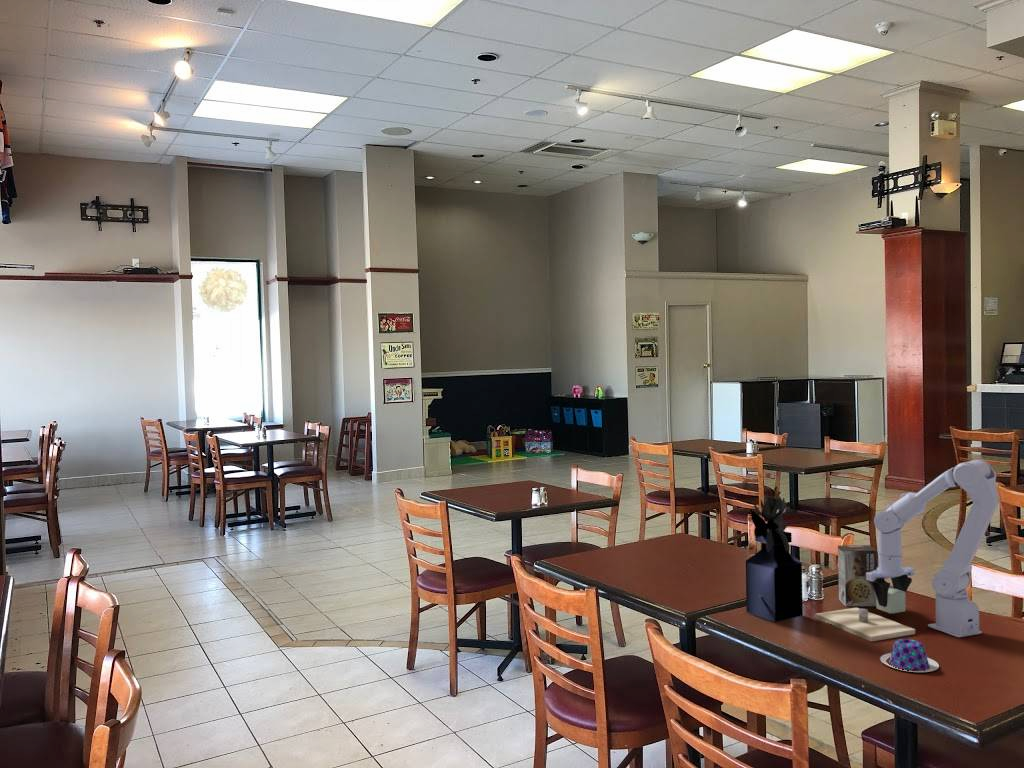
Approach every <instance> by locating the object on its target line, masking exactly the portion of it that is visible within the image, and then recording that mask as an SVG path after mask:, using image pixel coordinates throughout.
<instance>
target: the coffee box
mask: <svg viewBox="0 0 1024 768" xmlns="http://www.w3.org/2000/svg"><path fill="white" fill-rule="evenodd" d="M877 550H878V549H875V547H872V546H871V545H870V544H865V545H864V544H863V545H862V544H858V545H856V544H855V545H853V544H852V545H851V544H850V545H848V544H846V545H845V544H844V545H837V560H838V561H837V562H838V563H837V565H838V567H837V569H838V601H839V600H840V603H842V605H843V606H845V607H877V606H876V593H875V591H874V589H873V587H872V585H871V583H870V582H869V580H866V573H868V572H872V571H874V570H877V568H878V558H877V557H878V554H877V553H878V551H877Z"/></svg>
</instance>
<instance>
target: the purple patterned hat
mask: <svg viewBox="0 0 1024 768" xmlns="http://www.w3.org/2000/svg"><path fill="white" fill-rule="evenodd" d="M889 657H890V660H889V662H890V661H891V662H890V663H891V664H892V666H891V665H889V664H888V663H887V662H886V660H887V659H888V658H889ZM879 660H880V661H881V663H882V664H885V665H886V666H888V667H890V668H893V669H897V670H900V671H905V672H908V671H907V670H909V669H910V670H909V672H911V673H912V672H913V673H928V672H933V671H936V670H938V669H939V667H940V664H939V663H938V662H937V661H936V660H934V659H933V658H930V657H928V656H927V652H926V648H925V646H924V645H923V643H921V642H920V641H919V640H916V639H915V640H914V639H910V638H899V639H896V640H895V641H894V642H893V647H892V650H891V652H889V653H885V654H882V655H881V656H880V657H879ZM893 665H895V666H894V667H893ZM897 666H898V667H899V668H903V669H904V670H902V669H898V667H897ZM895 667H897V668H895ZM905 669H906V670H905ZM912 670H915V671H912ZM924 670H925V671H924Z"/></svg>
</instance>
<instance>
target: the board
mask: <svg viewBox="0 0 1024 768" xmlns="http://www.w3.org/2000/svg"><path fill="white" fill-rule="evenodd" d="M814 618H815V619H816V620H819V621H820V622H824V623H826V624H828V623H829V624H828V625H830V624H832V625H831V626H833V625H834V626H833V627H835V626H836V628H837V629H840V628H841V630H842V629H843V631H845V632H848V633H849V634H852V635H855V636H857V637H859V638H862V639H864V640H866V641H869V642H877V641H883V640H887V639H893V638H901V637H906V636H911V635H916V628H913V627H910V626H908V625H904V624H902V623H899V622H897V621H894V620H892V619H889V618H886V617H883V616H881V615H878V614H875V613H873V612H870V611H869V609H867V608H859V607H850V608H844V609H837V610H832V611H825V612H824V611H823V612H820V613H819V612H818V613H815V614H814Z"/></svg>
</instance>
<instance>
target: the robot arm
mask: <svg viewBox="0 0 1024 768" xmlns="http://www.w3.org/2000/svg"><path fill="white" fill-rule="evenodd" d="M997 486H998V485H997V473H996V472H995V470H994V469H993V467H992V465H990V464H989V462H987V461H986V460H983V459H980V458H974V459H972V460H971V459H970V460H969V461H964V462H960V463H958V464H957V465H955V466H954V467H951V468H950V469H947V470H946V471H944V472H943V473H941V474H940V475H939V476H937V477H935V479H933V480H932V481H930V483H927V485H926V486H924V487H923V488H922V489H921V490H919V491H918V492H908V493H907V492H904V493H902V494H900V495H899V497H900V498H899V499H898V500H896V501H894V502H893V503H892V504H891V503H889V504H887V505H886V509H885V510H879V511H877V514H875V516H874V519H873V524H874V526H875V528H876V529H877V550H878V551H877V553H878V554H877V557H878V558H877V570H874V571H872V572H868V573H866V580H869V582H870V583H871V585H872V587H873V589H874V591H875V593H876V596H877V600H878V603H879V605H880V606H883V607H886V606H887V595H888V589H889V588H890V587H891V586H890V585H891V583H892V588H894V589H897V590H901V591H904V592H905V595H906V594H907V591H908V589H909V587H910V585H911V584H912V582H913V578H911V577H913V576H915V568H913V567H909V566H906V567H905V566H904V567H903V563H902V561H903V558H902V557H903V555H902V554H903V553H902V529H903V527H904V526H905V524H907V523H909V522H910V521H911V520H912V519H914V518H916V517H917V516H918V515H920V514H921V513H923V512H924V511H926V504H927V503H928V502H929V501H931V500H932V499H934V498H935V497H937V496H939V495H940V494H942V493H944V492H945V491H946V490H948V489H950V488H956V487H960V488H961V489H962V490H964V491H965V492H966V493H967V494H968V496H969V498H970V499H971V501H972V504H971V507H970V509H969V512H968V514H967V515H966V518H965V520H964V523H963V524H962V526H961V530H960V532H959V534H958V536H957V538H956V540H955V542H954V546H953V547H952V550H951V552H950V554H949V557H948V558H947V559H946V560H945V562H944V563H943V565H942V566H941V568H940V570H939V571H938V572H936V573H935V574H934V575H933V576H932V577H931V585H932V588H933V590H934V591H935V592H934V593H935V594H934V596H935V622H934V623H929V624H927V627H929V628H931V629H934V630H937V631H939V632H942V633H945V634H947V635H950V636H953V637H956V638H963V637H969V636H974V635H975V636H976V635H980V634H982V633H983V632H982V631H981V630H980V609H979V605H978V604H977V603H976V602H975V601H973V600H972V599H970V598H969V597H968V595H969V594H968V592H967V588H968V587H969V586H970V584H971V573H972V569H973V565H972V562H973V560H974V558H975V556H976V554H977V552H978V549H979V547H980V545H981V543H982V540H983V539H984V537H985V534H986V532H987V530H988V527H989V525H990V523H991V520H992V519H993V517H994V514H995V511H996V510H997V508H998V506H999V503H1000V497H999V492H998V487H997ZM909 576H910V577H909ZM886 579H890V580H891V583H890V582H888V581H887V580H886Z"/></svg>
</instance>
